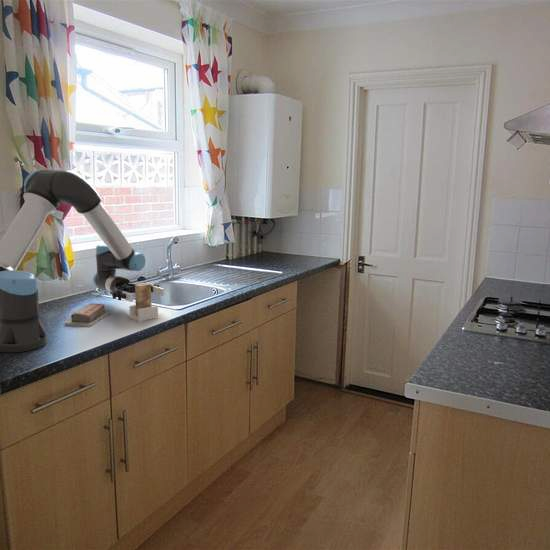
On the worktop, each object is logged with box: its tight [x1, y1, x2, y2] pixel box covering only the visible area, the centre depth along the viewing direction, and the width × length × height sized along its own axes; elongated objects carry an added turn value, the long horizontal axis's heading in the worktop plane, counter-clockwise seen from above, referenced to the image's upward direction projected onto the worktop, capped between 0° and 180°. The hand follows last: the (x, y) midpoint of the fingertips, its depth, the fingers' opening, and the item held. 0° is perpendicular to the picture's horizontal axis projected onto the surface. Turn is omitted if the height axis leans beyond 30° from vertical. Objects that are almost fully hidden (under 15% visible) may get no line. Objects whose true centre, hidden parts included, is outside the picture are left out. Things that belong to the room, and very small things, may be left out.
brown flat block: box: [64, 303, 111, 328], centre depth 196 cm, size 18×5×10 cm
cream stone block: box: [129, 304, 159, 322], centre depth 200 cm, size 8×7×4 cm
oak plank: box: [134, 282, 152, 316], centre depth 199 cm, size 5×3×12 cm, turn 136°
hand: (148, 295), depth 196 cm, fingers open, 13 cm apart
